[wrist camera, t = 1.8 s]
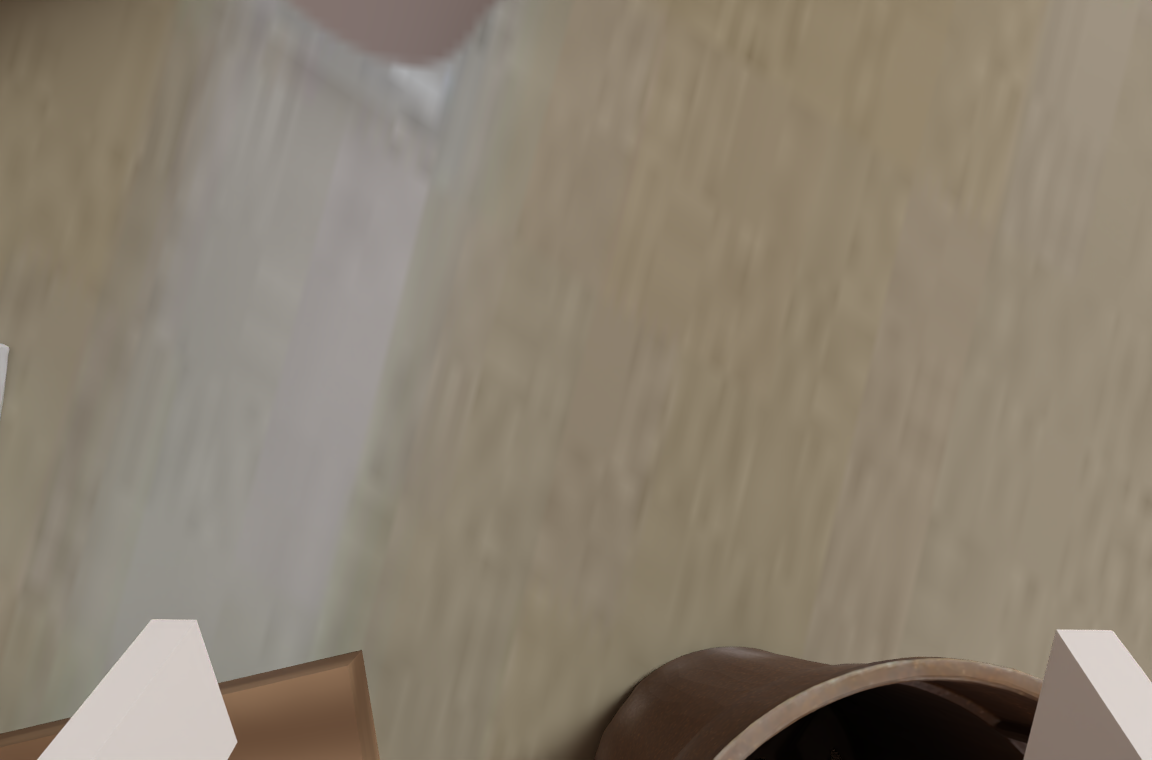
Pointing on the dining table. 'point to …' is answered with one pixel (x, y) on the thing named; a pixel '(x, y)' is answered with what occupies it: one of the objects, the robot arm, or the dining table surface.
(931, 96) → the dining table surface
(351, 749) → the block
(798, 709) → the plant pot
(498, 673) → the dining table surface
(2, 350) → the tea box
